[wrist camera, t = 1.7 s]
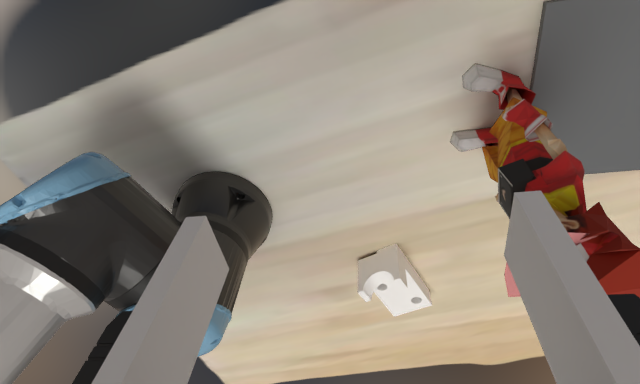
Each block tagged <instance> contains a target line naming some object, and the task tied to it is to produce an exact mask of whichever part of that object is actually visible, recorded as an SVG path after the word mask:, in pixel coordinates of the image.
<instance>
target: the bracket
mask: <svg viewBox="0 0 640 384" xmlns="http://www.w3.org/2000/svg"><path fill="white" fill-rule="evenodd" d="M373 292H374V293H375V294H376V295H377V296H378V298H379V299H380V300H381V301H382V302H383V304H384V305H385V306H386V307H387V308H388V310H389V311H390V312H391V313H392V314H393V316H394V317H395V316H398V315H401V314H405V313H408V312H411V311H415V310H418V309H421V308H425V307H428V306H431V305H432V302H431V297H430V291H429V289H428V287H427V286H426V285H425V283H424V282H423V280H422V279H421V278H420V276H419V275H418V273H417V272H416V270H415V269H414V268H413V266H412V265H411V263H410V262H409V261H408V259H407V258H406V256H405V255H404V253H403V252H402V251H401V249H400V248H399V246H398V245H397V244H396V243H395V244H393V245H390V246H387V247H385V248H382V249H379V250H377V254H374V255H371V256H369V257H366V258H363V259H361V260H358V293H359V295H360V296H361V297H362V298H363V299H364V300H365V302H367V301H371V297H372V294H373Z"/></svg>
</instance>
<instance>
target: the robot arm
mask: <svg viewBox="0 0 640 384" xmlns="http://www.w3.org/2000/svg"><path fill="white" fill-rule="evenodd" d="M130 176H131V175H130V174H129V173H126V172H124V171H123V170H121V169H120V168H119V167H118V166H116V165H115V164H114V163H113V162H112V161H110V160H109V159H108V158H107V157H105V156H104V155H102V154H99V153H95V152H88V153H84V154H81V155H79V156H78V157H76V158H74V159H72V160H71V161H69V162H67V163H66V164H64V165H62V166H61V167H59V168H58V169H56V170H54V171H53V172H51V173H50V174H48V175H46V176H45V177H43V178H42V179H40V180H39V181H37V182H36V183H34V184H32V185H31V186H29V187H28V188H26V189H25V190H24V191H22V192H21V193H19V194H18V195H16V196H14V197H13V198H12V199H10V200H9V201H7V202H5V203H3V204H2V205H1V206H0V384H12V383H13V382H14V381H15V380H16V379H17V378H18V376H19V375H20V374H21V373H22V372H23V371H24V369H25V368H26V367H27V366H28V365H29V363H30V362H31V361H32V360H33V359H34V358H35V356H36V355H37V354H38V353H39V352H40V351H41V349H42V348H43V347H44V346H45V345H46V344H47V342H48V341H49V340H50V339H51V338H52V336H53V335H54V334H55V333H56V332H57V331H58V329H59V328H60V327H61V326H62V325H63V324H64V322H66V321H68V320H70V319H72V318H77V317H81V316H85V315H89V314H92V313H93V312H94V311H95V310H96V309H97V308H98V306H99V305H100V304H101V303H102V302H103V301H105V302H107V303H108V304H109V305H111V306H112V307H114V308H115V309H116V310H118V311H119V312H120V313H119V314H118V315H117V316H116V318H115V319H114V320H113V321H112V322H111V323H110V324H109V325H108V326H107V327H106V329H105V330H104V332H103V334H102V335H101V337H100V339H99V340H98V342H97V346H96V347H94V348H93V350H92V352H91V353H90V355H89V357H88V361H85V363H84V365H83V366H82V368H81V370H80V371H79V373H78V375H77V376H76V378H75V380H74V381H73V383H72V384H187V383H188V380H189V378H190V375H191V372H192V369H193V367H194V364H195V361H196V359H197V357H198V356H201V355H204V354H206V353H208V352H210V351H212V350H213V349H214V348H215V347H216V346H217V345H218V344H219V343H220V341H221V339H222V337H223V334H224V332H225V330H226V327H227V325H228V323H229V322H230V320H231V316H232V311H233V307H234V304H235V301H236V298H237V294H238V291H239V288H240V285H241V281H242V278H243V275H244V272H245V268H246V265H247V262H248V260H249V258H250V257H251V256H252V255H253V254H254V252H255V251H256V250H257V249H258V248H259V247H260V246H261V245H262V243H263V242H264V241H265V240H266V238H267V236H268V234H269V230H270V227H271V223H272V210H271V207H270V204H269V202H268V200H267V199H266V197H265V196H264V195H263V193H262V192H261V191H260V190H259V189H258V188H257V187H255V186H254V185H253V184H251V183H250V182H248V181H247V180H245V179H243V178H241V177H238V176H236V175H232V174H229V173H223V172H206V173H202V174H198V175H196V176H194V177H192V178H190V179H189V180H187V181H186V182H185V183H184V185H183V186H182V187H181V189H180V190H179V192H178V194H177V195H176V197H175V200H174V203H173V209H172V214H171V213H170V212H169V211H167V210H166V209H165V208H164V207H163V206H162V205H161V204H160V203H159V202H158V201H157V200H155V199H154V198H153V197H152V196H151V195H150V194H149V193H148V192H147V191H146V190H145V189H143V188H142V187H141V186H140V185H139V184H138V183H137V182H136V181H135V180H134V179H132V178H131V177H130ZM504 256H505V259H506V261H507V264H508V266H509V268H510V271H511V273H512V276H513V278H514V281H515V283H516V285H517V288H518V290H519V293H520V295H521V298H522V300H523V303H524V305H525V307H526V310H527V312H528V315H529V317H530V320H531V322H532V325H533V327H534V329H535V332H536V334H537V337H538V339H539V342H540V344H541V346H542V349H543V351H544V354H545V356H546V358H547V361H548V363H549V366H550V368H551V371H552V373H553V376H554V378H555V381H556V383H557V384H640V298H639V297H638V296H637V295H635V294H610V295H607V294H606V292H605V291H604V289H603V288H602V286H601V284H600V283H599V281H598V280H597V278H596V277H595V275H594V273H593V272H592V270H591V269H590V267H589V266H588V264H587V262H586V261H585V259H584V258H583V256H582V254H581V253H580V251H579V250H578V248H577V247H576V245H575V243H574V242H573V240H572V239H571V237H570V236H569V234H568V232H567V231H566V229H565V228H564V226H563V224H562V223H561V221H560V220H559V218H558V217H557V215H556V213H555V212H554V210H553V209H552V207H551V206H550V204H549V202H548V201H547V199H546V198H545V196H544V195H543V193H542V191H528V192H515V193H514V197H513V204H512V210H511V216H510V222H509V228H508V234H507V241H506V247H505V253H504Z"/></svg>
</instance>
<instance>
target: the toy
mask: <svg viewBox="0 0 640 384" xmlns="http://www.w3.org/2000/svg"><path fill="white" fill-rule="evenodd" d="M462 77H463V88H465V89H467V90H470V91H485V92H493V93H495V94H496V95H498V97H499V109H501V110H504V111H503V112H502V114H501V115H500V116H499V118H498V119H497V121H496V122H495V124H494V125H493V127H491V128H485V129H478V130H469V131H458V132H453V135H452V138H451V141H450V143H451V144H453V145H454V146H455V147H456V148H457V149H458V150H459V151H468V150H472V149H477V148H481V147H482V149H483V153H484V156H485V160H486V164H487V168H488V172H489V175H490V178H491V179H493V180H494V181H496V182H498V194H497V196H495V197H496V200H497V202H499V204H500V205H501V207H502V208H503V210H504V211H505V213H506V214H507V216H508V217H509V219H510V216H511V210H512V204H513V197H514V193H515V192H528V191H542V193H543V195H544V196H545V198H546V199H547V201H548V202H549V204H550V206H551V207H552V209H553V210H554V212H555V213H556V215H557V217H558V218H559V220H560V221H561V223H562V224H563V226H564V228H565V229H566V231H567V232H568V234H569V236H570V237H571V239H572V240H573V242H574V243H575V245H576V247H577V248H578V250H579V251H580V253H581V254H582V256H583V258H584V259H585V261H586V262H587V264H588V266H589V267H590V269H591V270H592V272H593V273H594V275H595V277H596V278H597V280H598V281H599V283H600V284H601V286H602V288H603V289H604V291H605V292H606V294H607V295H610V294H635V295H637V296H638V297H639V298H640V248H638V247H637V246H635V245H634V244H632V243H631V242H630V240H629V239H628V238H627V237H626V236H625V235H624V234H623V233H622V232H621V231H620V230H619V229H618V227H617V226H616V225H615V224H614V223H613V222H612V221H611V220H610V219H609V218H608V217H607V216H606V214H605V212H604V210H603V208H602V206H601V205H600V203H599V202H598V203H597V204H596V205H594V206H593V207H592V208H590V209H589V210H588V211H587V210H586V202H585V195H584V188H583V177H584V172H585V171H584V168H583V165H582V163H581V161H580V160H578V159H577V158H575V157H574V156H573V155H571V154H570V153H568V151H567V149H566V146H565V144H564V143H563V142H562V141H561V140H560V139H557V138H556V137H555V135H554V134H553V133H552V132H551V128H552V125H553V124H552V123H551V121H550V120H549V119H548V118H547V112H546V111H543V110H541V109H539V108H537V107H535V106H532V105H531V104H532V102H533V100H534V98H535V95H536V93H534V92H533V91H531V90H530V89H528V88H527V87H525V86H524V84H523V83H522V81H521V80H520V78H519V76H516V75H513V74H510V73H507V72H505V71H502V70H498V69H494V68H490V67H487V66H483V65H479V64H474V65H473V66H472V67H471V68H470V69H469V70H468V71H467V72H466V73H465V74H464V75H463V76H462ZM504 275H505V281H506V286H507V292H508V297H517V296H521V295H520V293H519V290H518V288H517V285H516V283H515V281H514V278H513V276H512V273H511V271H510V268H509V266H508V264H507V263H506V269H505V274H504Z"/></svg>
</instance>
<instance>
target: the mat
mask: <svg viewBox="0 0 640 384" xmlns="http://www.w3.org/2000/svg"><path fill="white" fill-rule="evenodd" d="M530 90H531V91H533V92H534V93H536V95H535V98H534V100H533V102H532V104H531V105H532V106H535V107H537V108H539V109H541V110H543V111H546V112H547V118H548V119H549V120H550V121H551V123H552V124H553V125H552V128H551V132H552V133H553V134H554V135H555V137H556V138H557V139H560V140H561V141H562V142H563V143H564V144H565V146H566V149H567V151H568V153H570V154H571V155H573V156H574V157H575V158H577V159H578V160H580V161H581V163H582V165H583V168H584V171H585V172H584V174H594V173H606V172H618V171H631V170H640V0H553V1H547V2H544V3H543V10H542V16H541V22H540V29H539V35H538V41H537V48H536V54H535V60H534V67H533V73H532V79H531V86H530Z"/></svg>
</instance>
